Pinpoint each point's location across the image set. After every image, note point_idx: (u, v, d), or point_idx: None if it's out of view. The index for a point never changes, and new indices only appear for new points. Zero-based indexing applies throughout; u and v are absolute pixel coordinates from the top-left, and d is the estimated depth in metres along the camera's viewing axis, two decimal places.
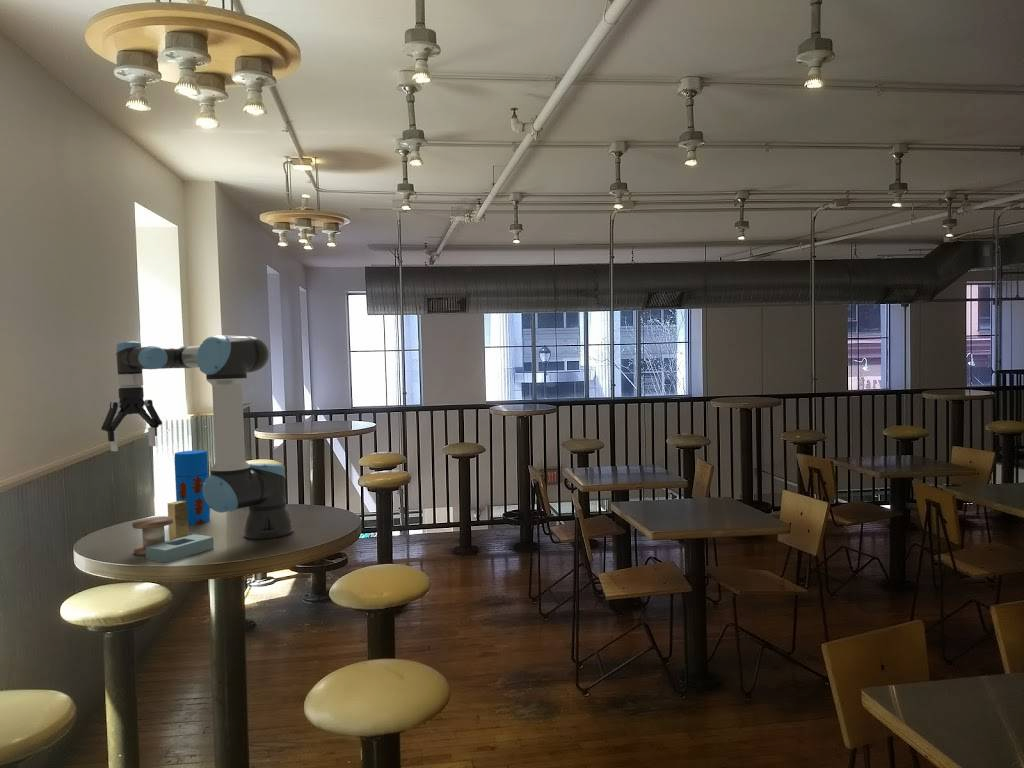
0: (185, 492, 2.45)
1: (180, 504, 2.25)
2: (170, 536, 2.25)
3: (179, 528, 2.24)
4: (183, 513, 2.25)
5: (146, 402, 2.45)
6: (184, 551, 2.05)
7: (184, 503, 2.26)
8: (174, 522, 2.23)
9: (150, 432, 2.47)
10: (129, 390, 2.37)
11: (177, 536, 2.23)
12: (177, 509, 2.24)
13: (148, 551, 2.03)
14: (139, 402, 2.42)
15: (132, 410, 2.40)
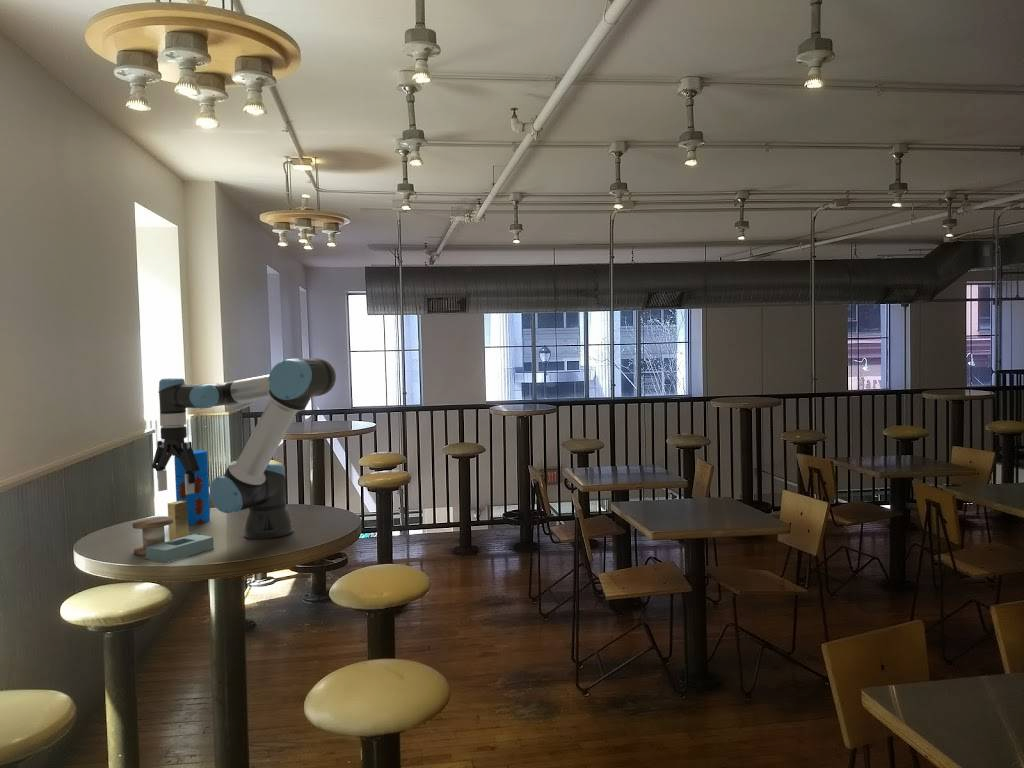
0: None
1: (180, 504, 2.25)
2: (170, 536, 2.25)
3: (179, 528, 2.24)
4: (183, 513, 2.25)
5: None
6: (184, 551, 2.05)
7: (184, 503, 2.26)
8: (174, 522, 2.23)
9: None
10: None
11: (177, 536, 2.23)
12: (177, 509, 2.24)
13: (148, 551, 2.03)
14: (175, 444, 2.23)
15: (170, 451, 2.24)
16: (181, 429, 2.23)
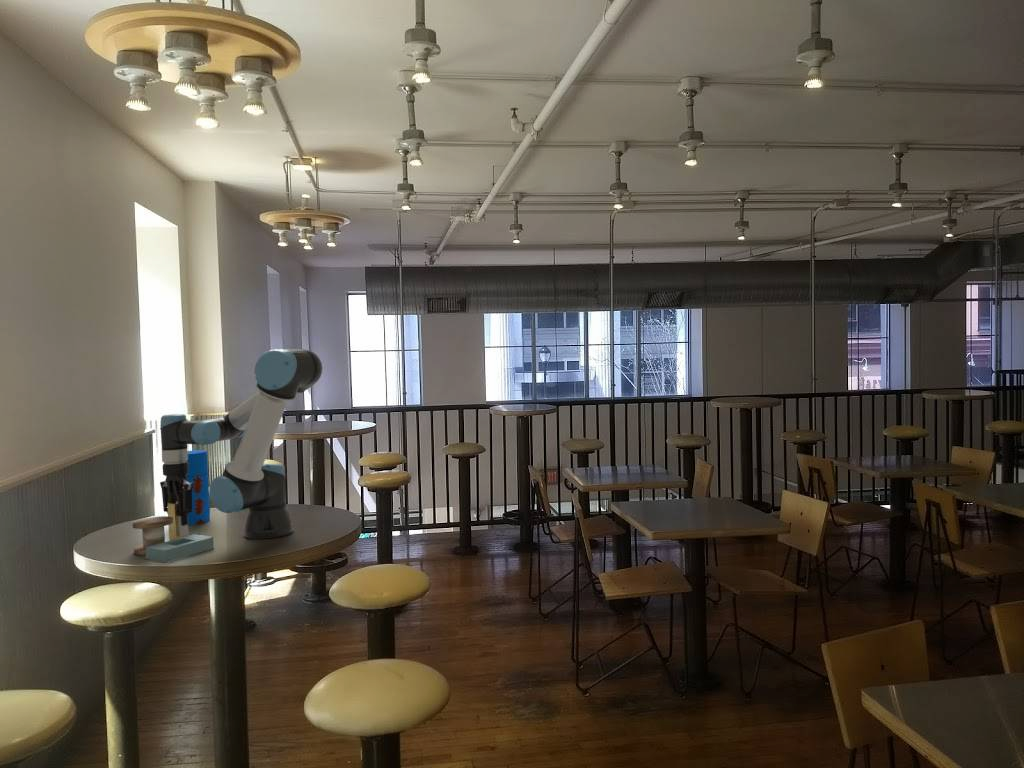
0: None
1: None
2: (170, 536, 2.25)
3: None
4: None
5: None
6: (184, 551, 2.05)
7: None
8: (174, 521, 2.23)
9: None
10: None
11: (177, 536, 2.23)
12: (177, 509, 2.24)
13: (148, 551, 2.03)
14: (177, 480, 2.23)
15: (172, 487, 2.25)
16: (183, 465, 2.23)
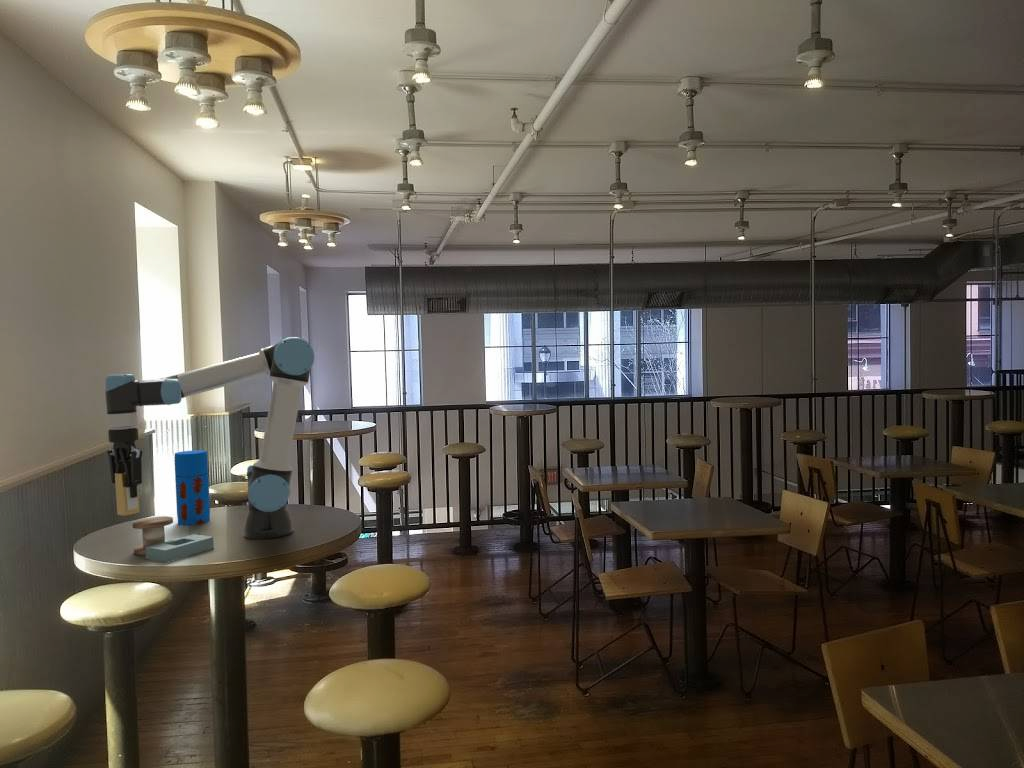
0: (185, 492, 2.45)
1: None
2: (118, 509, 2.02)
3: None
4: None
5: None
6: (184, 551, 2.05)
7: None
8: (122, 493, 2.00)
9: None
10: None
11: (125, 510, 2.01)
12: (125, 479, 2.01)
13: (148, 551, 2.03)
14: (124, 447, 2.00)
15: (119, 455, 2.02)
16: (131, 431, 2.00)
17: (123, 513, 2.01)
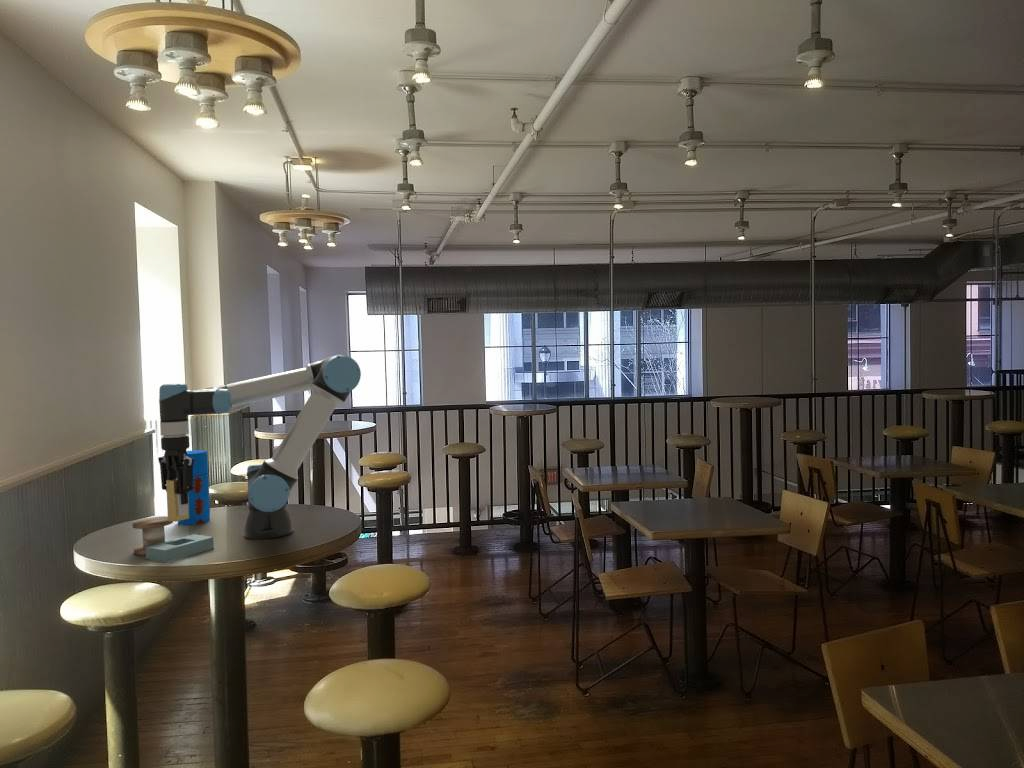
0: None
1: None
2: (168, 515, 2.07)
3: None
4: None
5: (185, 459, 2.05)
6: (184, 551, 2.05)
7: None
8: (174, 500, 2.05)
9: None
10: (161, 440, 2.06)
11: (176, 516, 2.06)
12: (176, 486, 2.06)
13: (148, 551, 2.03)
14: (177, 455, 2.05)
15: (171, 463, 2.07)
16: (184, 439, 2.06)
17: (174, 519, 2.06)
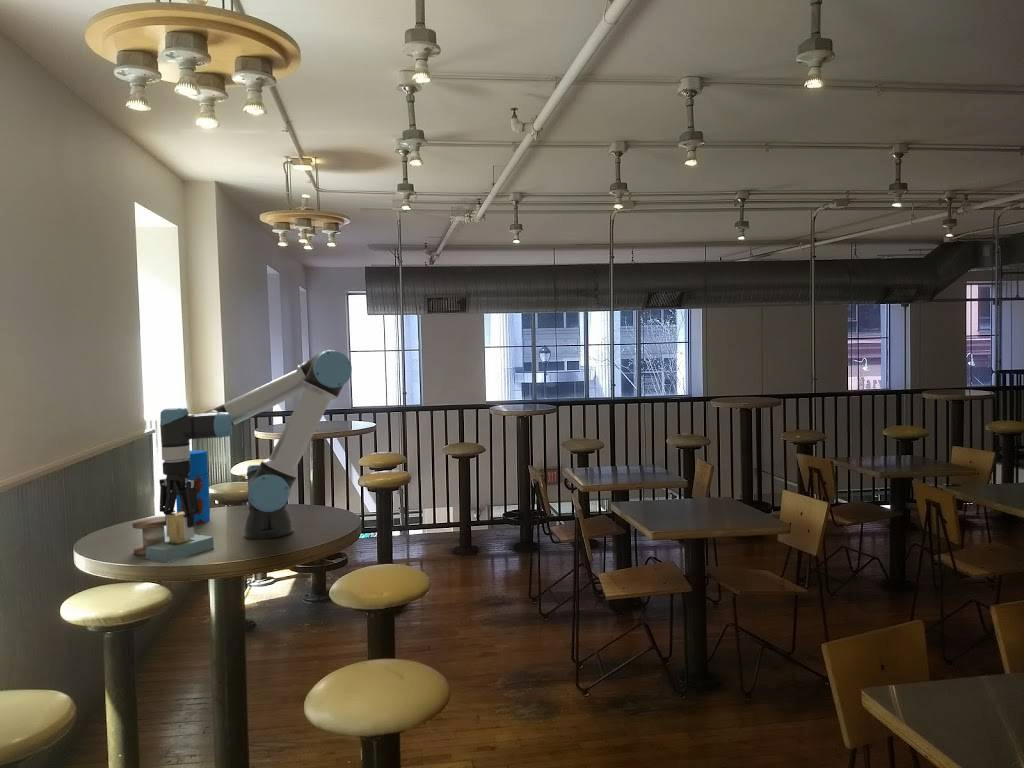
0: None
1: (182, 515, 2.07)
2: None
3: (181, 541, 2.07)
4: None
5: None
6: (184, 551, 2.05)
7: None
8: (176, 534, 2.06)
9: None
10: None
11: None
12: (178, 521, 2.06)
13: (148, 551, 2.03)
14: (178, 479, 2.06)
15: (173, 487, 2.07)
16: (185, 463, 2.06)
17: None
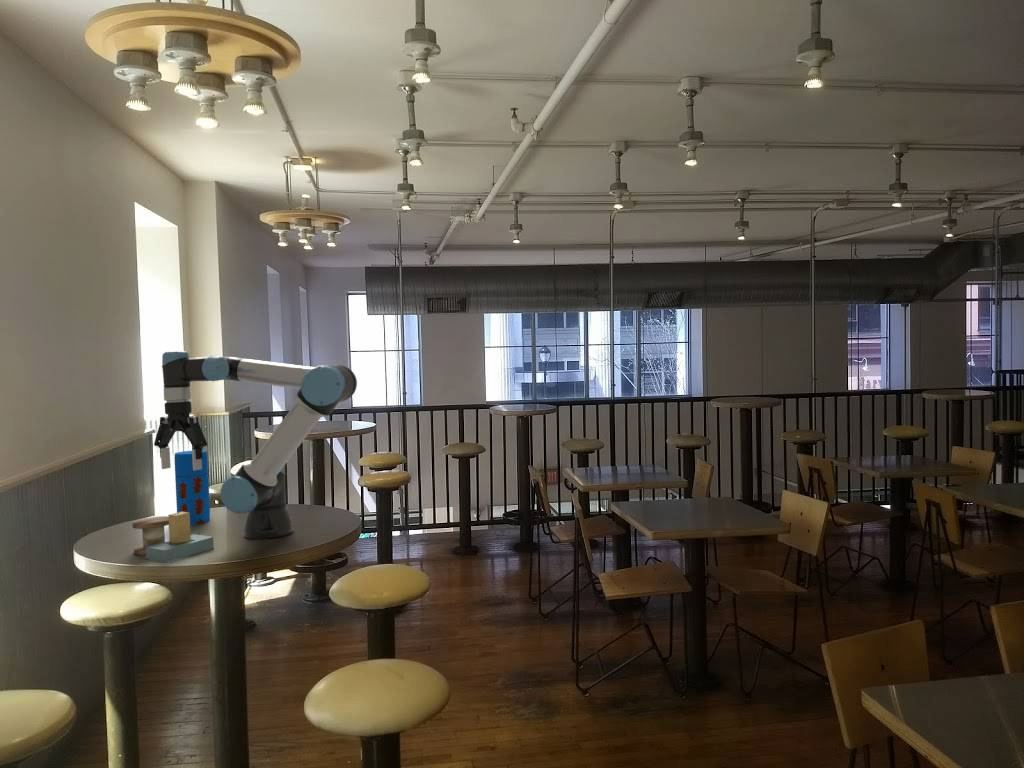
0: (185, 492, 2.45)
1: (182, 515, 2.07)
2: None
3: (181, 541, 2.07)
4: (185, 525, 2.08)
5: None
6: (184, 551, 2.05)
7: (186, 514, 2.08)
8: (176, 535, 2.06)
9: None
10: None
11: None
12: (179, 521, 2.06)
13: (148, 551, 2.03)
14: (180, 419, 2.16)
15: (174, 427, 2.17)
16: (187, 404, 2.16)
17: None
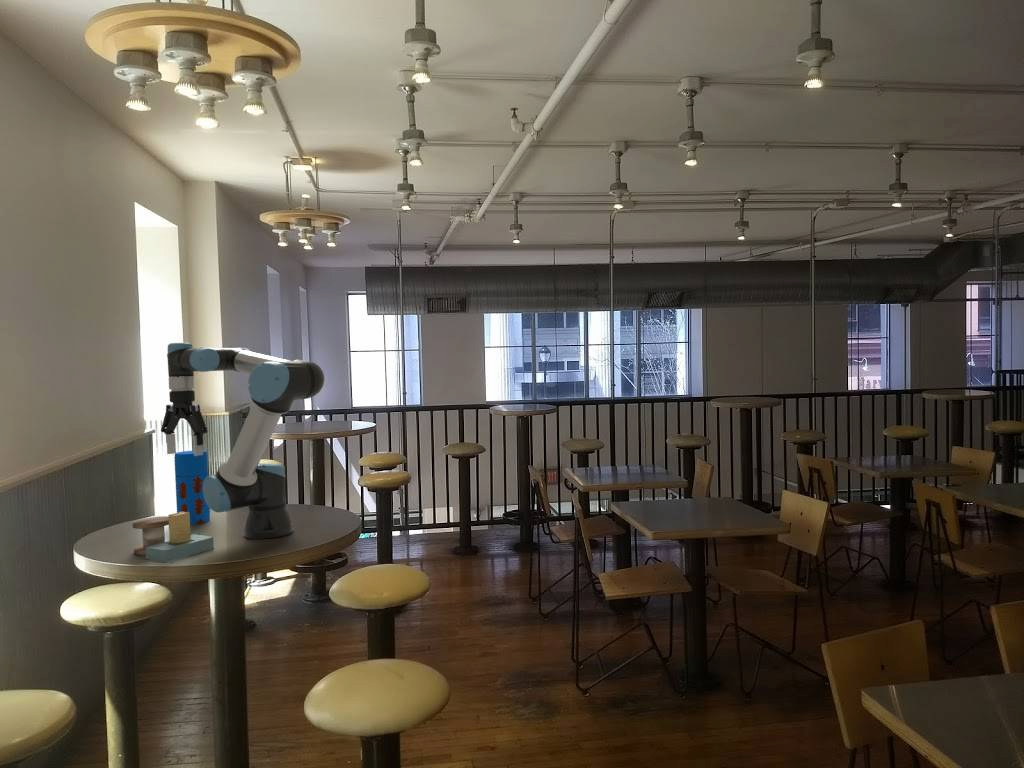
0: (185, 492, 2.45)
1: (182, 515, 2.07)
2: None
3: (181, 541, 2.07)
4: (185, 525, 2.08)
5: None
6: (184, 551, 2.05)
7: (186, 514, 2.08)
8: (176, 535, 2.06)
9: None
10: (169, 394, 2.28)
11: None
12: (179, 521, 2.06)
13: (148, 551, 2.03)
14: (183, 407, 2.28)
15: (178, 414, 2.29)
16: (190, 392, 2.28)
17: None
